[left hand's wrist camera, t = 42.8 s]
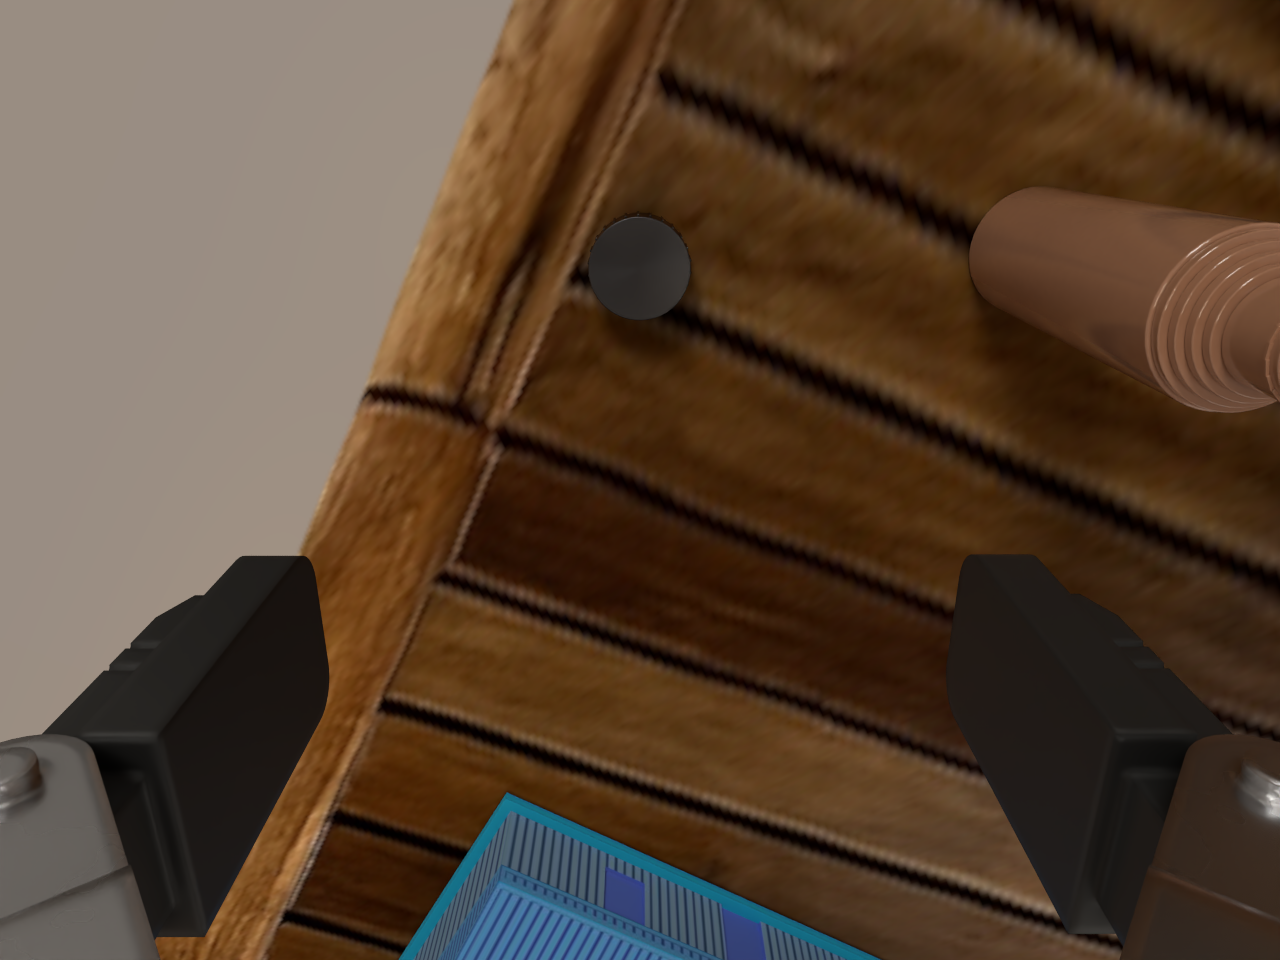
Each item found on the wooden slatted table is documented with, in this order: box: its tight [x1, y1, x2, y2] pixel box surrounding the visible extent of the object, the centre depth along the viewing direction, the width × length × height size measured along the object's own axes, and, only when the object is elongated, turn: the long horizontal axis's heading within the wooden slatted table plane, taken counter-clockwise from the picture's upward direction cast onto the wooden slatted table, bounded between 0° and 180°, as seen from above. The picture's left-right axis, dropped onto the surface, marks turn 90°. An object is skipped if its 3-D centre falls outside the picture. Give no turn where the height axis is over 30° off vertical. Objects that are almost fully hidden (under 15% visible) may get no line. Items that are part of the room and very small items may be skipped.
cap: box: [588, 211, 691, 320], centre depth 39 cm, size 4×4×2 cm
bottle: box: [969, 186, 1280, 413], centre depth 31 cm, size 6×6×19 cm
